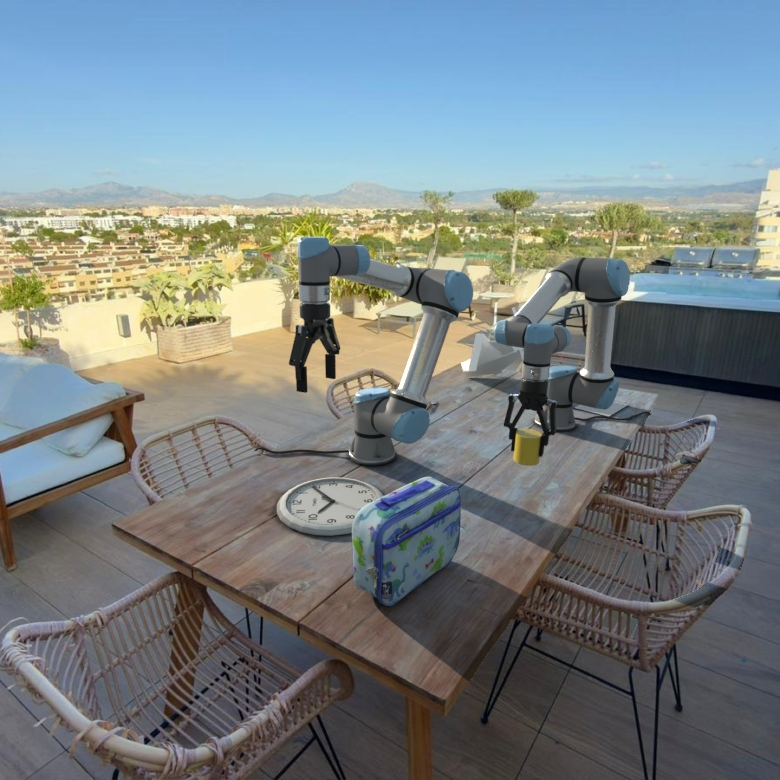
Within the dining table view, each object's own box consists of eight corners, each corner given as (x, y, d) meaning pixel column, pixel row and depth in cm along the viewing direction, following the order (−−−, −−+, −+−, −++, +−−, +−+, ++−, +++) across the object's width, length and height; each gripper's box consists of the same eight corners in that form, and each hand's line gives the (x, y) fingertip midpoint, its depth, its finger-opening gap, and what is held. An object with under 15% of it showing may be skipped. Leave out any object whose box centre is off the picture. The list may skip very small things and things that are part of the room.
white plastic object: (482, 418, 266) (461, 395, 241) (463, 346, 288) (443, 318, 264) (553, 394, 254) (538, 368, 229) (528, 321, 276) (512, 289, 251)
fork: (422, 411, 216) (422, 407, 215) (433, 400, 230) (433, 396, 230) (428, 412, 215) (429, 407, 215) (438, 401, 230) (439, 396, 229)
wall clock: (392, 527, 129) (268, 531, 127) (391, 533, 130) (269, 537, 127) (383, 473, 158) (282, 475, 155) (383, 478, 158) (282, 480, 156)
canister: (530, 468, 151) (533, 440, 149) (508, 459, 156) (510, 432, 154) (543, 460, 156) (547, 433, 154) (522, 453, 161) (524, 426, 159)
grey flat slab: (608, 416, 214) (573, 407, 224) (608, 416, 214) (573, 408, 224) (628, 404, 229) (594, 396, 238) (628, 405, 229) (594, 397, 238)
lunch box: (381, 619, 101) (382, 525, 95) (345, 592, 109) (344, 503, 102) (464, 563, 119) (469, 480, 113) (428, 543, 126) (432, 464, 120)
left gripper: (298, 309, 116) (301, 400, 123) (352, 297, 138) (353, 374, 144) (271, 307, 119) (275, 395, 126) (328, 295, 141) (329, 371, 147)
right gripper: (496, 376, 150) (490, 449, 157) (570, 387, 141) (560, 464, 148) (502, 370, 156) (496, 441, 163) (574, 380, 148) (564, 454, 155)
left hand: (316, 384), depth 135 cm, fingers open, 13 cm apart
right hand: (527, 452), depth 156 cm, fingers closed on canister, 7 cm apart
